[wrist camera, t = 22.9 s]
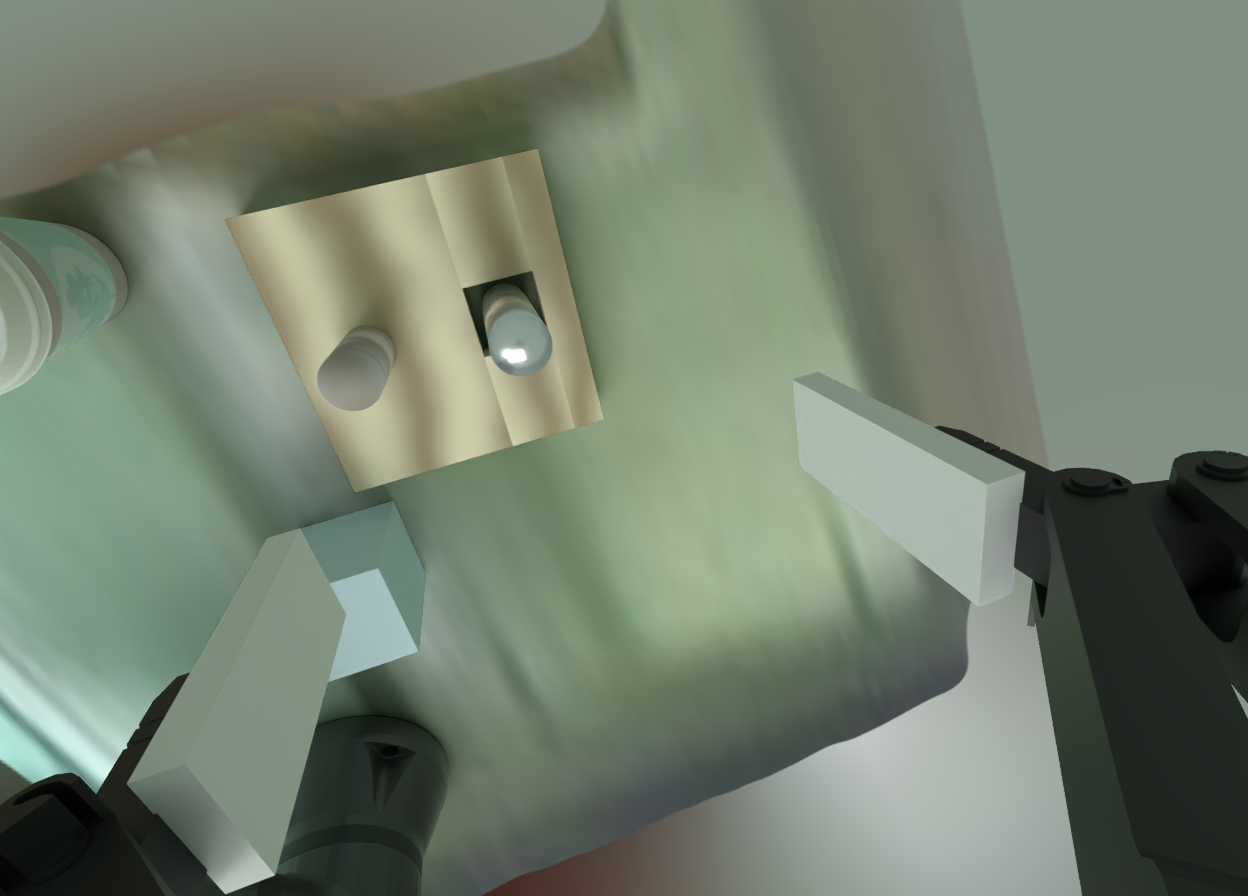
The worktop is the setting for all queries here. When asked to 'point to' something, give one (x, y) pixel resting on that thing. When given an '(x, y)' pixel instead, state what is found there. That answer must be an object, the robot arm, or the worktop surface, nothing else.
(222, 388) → the worktop surface
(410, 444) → the board
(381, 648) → the block
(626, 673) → the worktop surface
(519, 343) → the peg
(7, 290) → the coffee cup
